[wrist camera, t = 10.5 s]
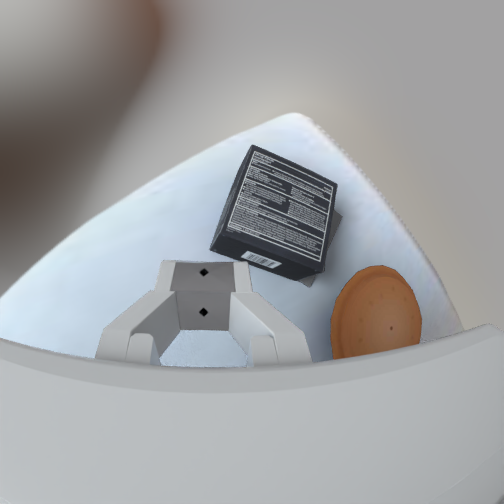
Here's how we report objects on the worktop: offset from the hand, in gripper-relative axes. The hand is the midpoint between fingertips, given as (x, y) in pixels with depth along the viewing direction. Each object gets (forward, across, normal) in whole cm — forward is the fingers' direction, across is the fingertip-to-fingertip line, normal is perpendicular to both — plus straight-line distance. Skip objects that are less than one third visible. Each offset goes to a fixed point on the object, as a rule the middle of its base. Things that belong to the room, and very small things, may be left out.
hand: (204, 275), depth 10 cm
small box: (+13, -5, +10) cm, 17 cm away
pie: (+12, -20, +19) cm, 29 cm away
